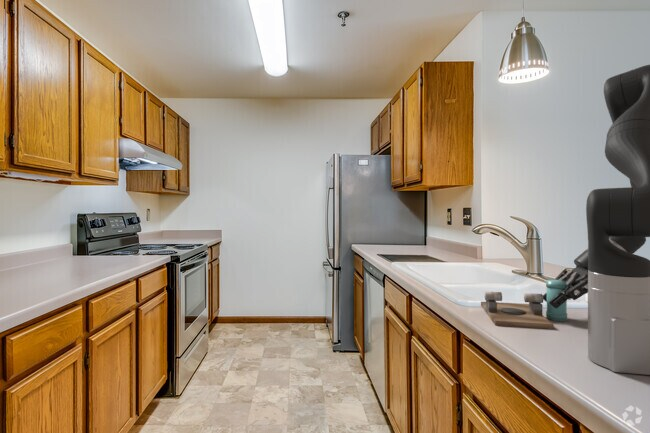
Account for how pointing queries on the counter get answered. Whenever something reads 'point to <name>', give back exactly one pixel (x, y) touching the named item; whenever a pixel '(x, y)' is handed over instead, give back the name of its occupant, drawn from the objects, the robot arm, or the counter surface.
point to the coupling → (552, 290)
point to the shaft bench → (516, 311)
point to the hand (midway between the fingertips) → (548, 302)
